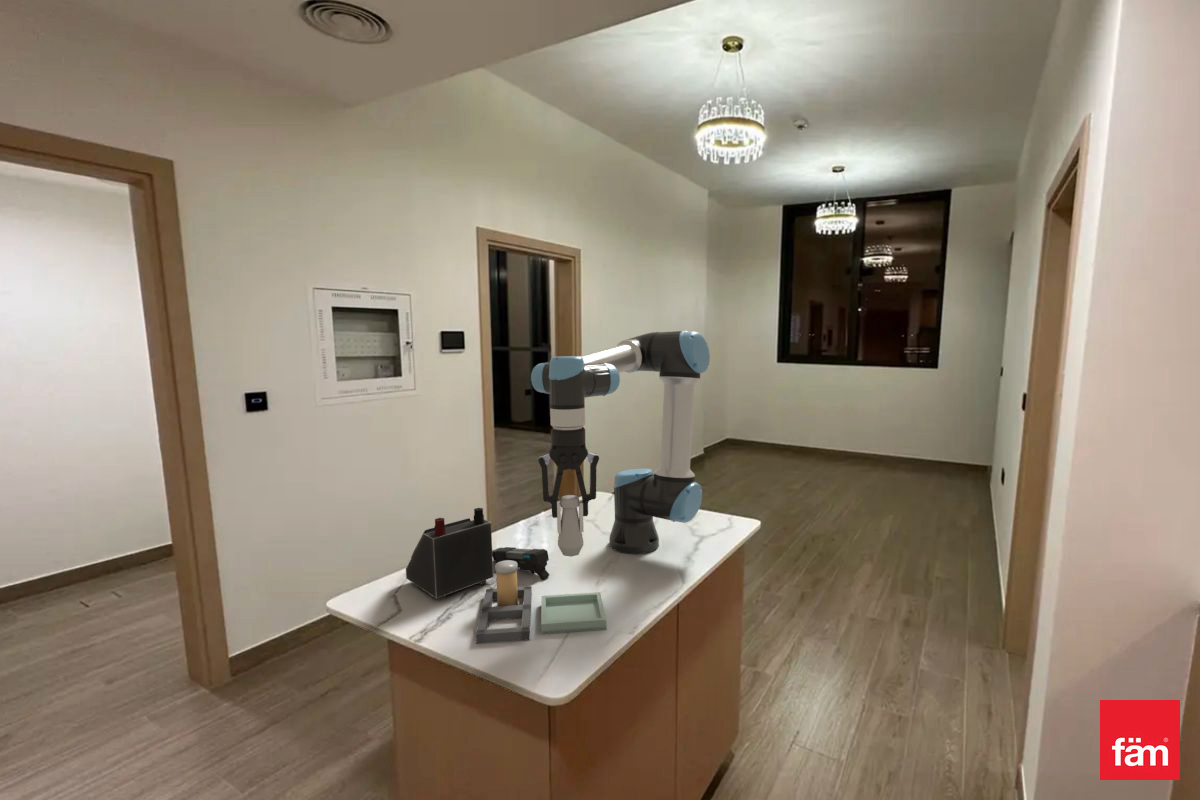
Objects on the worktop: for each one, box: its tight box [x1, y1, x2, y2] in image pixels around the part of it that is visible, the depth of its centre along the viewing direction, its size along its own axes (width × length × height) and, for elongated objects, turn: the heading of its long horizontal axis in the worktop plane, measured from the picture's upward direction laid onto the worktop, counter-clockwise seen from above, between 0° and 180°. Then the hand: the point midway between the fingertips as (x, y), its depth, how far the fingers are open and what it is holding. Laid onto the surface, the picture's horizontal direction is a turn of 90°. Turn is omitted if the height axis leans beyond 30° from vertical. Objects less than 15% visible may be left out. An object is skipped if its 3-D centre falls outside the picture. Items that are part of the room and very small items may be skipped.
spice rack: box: [475, 560, 533, 645], centre depth 122 cm, size 11×21×10 cm, turn 6°
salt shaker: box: [557, 494, 585, 558], centre depth 120 cm, size 6×6×13 cm
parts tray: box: [540, 591, 608, 635], centre depth 122 cm, size 14×13×2 cm
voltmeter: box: [405, 507, 494, 601], centre depth 140 cm, size 16×16×20 cm
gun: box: [492, 546, 550, 581], centre depth 149 cm, size 4×20×10 cm, turn 50°
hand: (570, 530), depth 120 cm, fingers closed on salt shaker, 4 cm apart
